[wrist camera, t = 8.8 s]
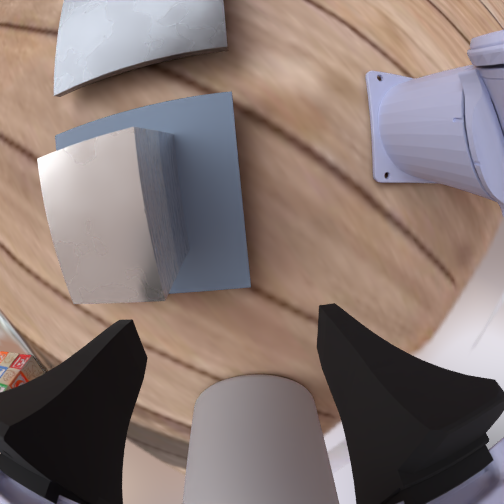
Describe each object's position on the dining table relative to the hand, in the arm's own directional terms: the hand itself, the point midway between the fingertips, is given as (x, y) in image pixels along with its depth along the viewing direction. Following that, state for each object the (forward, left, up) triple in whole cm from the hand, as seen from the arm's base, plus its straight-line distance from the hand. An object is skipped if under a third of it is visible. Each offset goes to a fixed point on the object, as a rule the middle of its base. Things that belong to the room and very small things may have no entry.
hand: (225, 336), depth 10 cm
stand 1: (+5, -19, -9) cm, 22 cm away
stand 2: (+5, -4, -9) cm, 11 cm away
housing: (+5, -4, -7) cm, 10 cm away
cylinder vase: (0, +18, -10) cm, 20 cm away
